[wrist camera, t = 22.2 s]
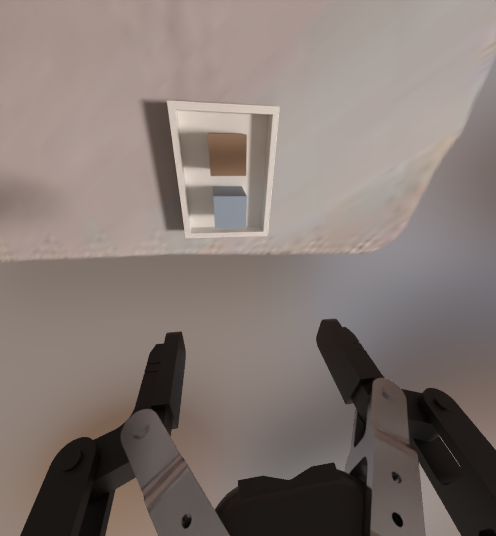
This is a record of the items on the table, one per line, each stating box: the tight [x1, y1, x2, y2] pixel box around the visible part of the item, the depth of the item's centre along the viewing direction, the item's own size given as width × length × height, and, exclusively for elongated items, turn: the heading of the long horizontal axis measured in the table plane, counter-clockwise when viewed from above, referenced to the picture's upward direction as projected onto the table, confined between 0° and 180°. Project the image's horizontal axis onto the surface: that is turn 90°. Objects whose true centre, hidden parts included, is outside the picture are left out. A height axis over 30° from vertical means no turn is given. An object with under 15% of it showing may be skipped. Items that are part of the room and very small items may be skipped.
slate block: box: [213, 186, 247, 228], centre depth 32 cm, size 4×4×6 cm
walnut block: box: [208, 133, 247, 176], centre depth 28 cm, size 4×4×6 cm
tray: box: [167, 101, 280, 238], centre depth 32 cm, size 14×18×4 cm
